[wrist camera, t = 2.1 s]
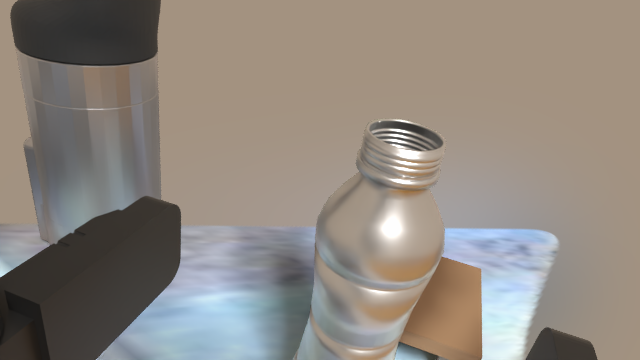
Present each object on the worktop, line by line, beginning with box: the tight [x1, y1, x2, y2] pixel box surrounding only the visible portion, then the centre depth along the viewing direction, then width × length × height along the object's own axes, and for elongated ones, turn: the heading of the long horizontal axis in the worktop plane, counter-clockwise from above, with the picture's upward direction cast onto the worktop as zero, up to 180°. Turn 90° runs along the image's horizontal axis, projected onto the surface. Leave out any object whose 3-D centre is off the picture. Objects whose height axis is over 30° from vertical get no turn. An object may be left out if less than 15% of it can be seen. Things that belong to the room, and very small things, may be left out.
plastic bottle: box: [293, 118, 446, 360], centre depth 24 cm, size 6×7×20 cm
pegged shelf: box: [399, 257, 482, 360], centre depth 36 cm, size 10×10×4 cm
